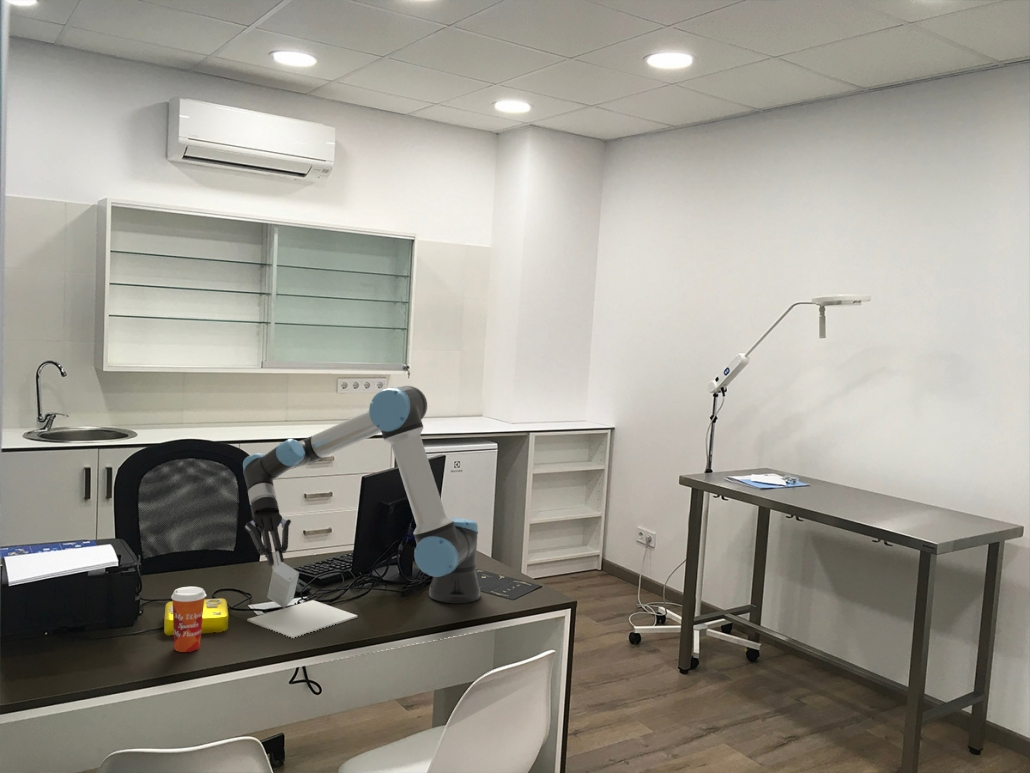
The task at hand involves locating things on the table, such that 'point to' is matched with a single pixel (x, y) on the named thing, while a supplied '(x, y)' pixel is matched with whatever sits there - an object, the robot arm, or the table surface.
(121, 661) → the table surface
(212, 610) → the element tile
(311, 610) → the mat
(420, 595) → the table surface
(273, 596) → the skincare box
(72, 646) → the table surface
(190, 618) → the paper cup
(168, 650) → the table surface
